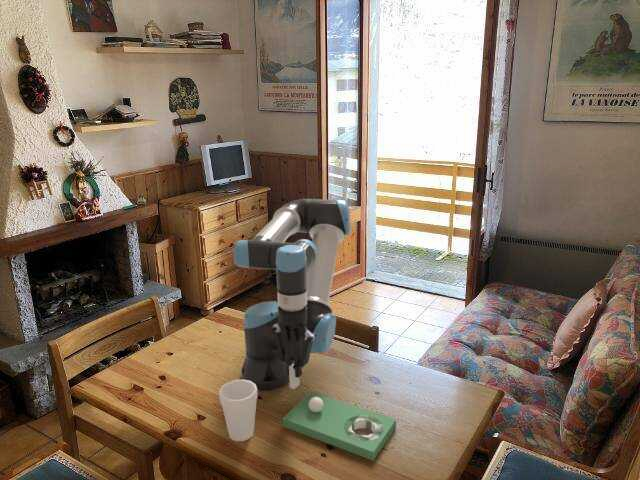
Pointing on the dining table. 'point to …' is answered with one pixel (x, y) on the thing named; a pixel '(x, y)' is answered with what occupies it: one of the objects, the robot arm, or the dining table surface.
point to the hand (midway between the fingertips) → (294, 385)
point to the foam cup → (239, 408)
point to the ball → (316, 404)
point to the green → (341, 425)
